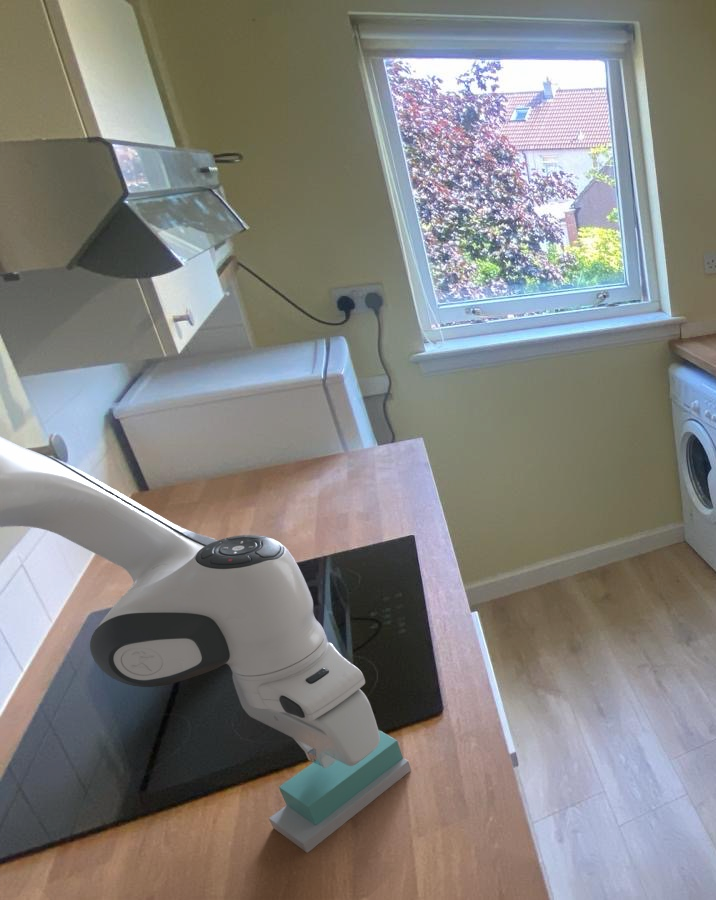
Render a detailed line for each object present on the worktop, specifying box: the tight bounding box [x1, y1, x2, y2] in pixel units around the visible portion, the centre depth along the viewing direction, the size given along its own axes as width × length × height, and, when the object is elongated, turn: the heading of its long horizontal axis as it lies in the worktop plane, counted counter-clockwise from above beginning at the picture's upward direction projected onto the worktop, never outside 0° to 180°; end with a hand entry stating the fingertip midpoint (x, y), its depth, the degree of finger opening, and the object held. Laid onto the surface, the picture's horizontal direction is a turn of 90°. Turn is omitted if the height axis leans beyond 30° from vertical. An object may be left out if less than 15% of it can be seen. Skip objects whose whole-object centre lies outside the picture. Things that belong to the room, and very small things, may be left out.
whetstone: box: [268, 729, 412, 854], centre depth 88 cm, size 13×5×7 cm
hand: (324, 760), depth 87 cm, fingers closed
